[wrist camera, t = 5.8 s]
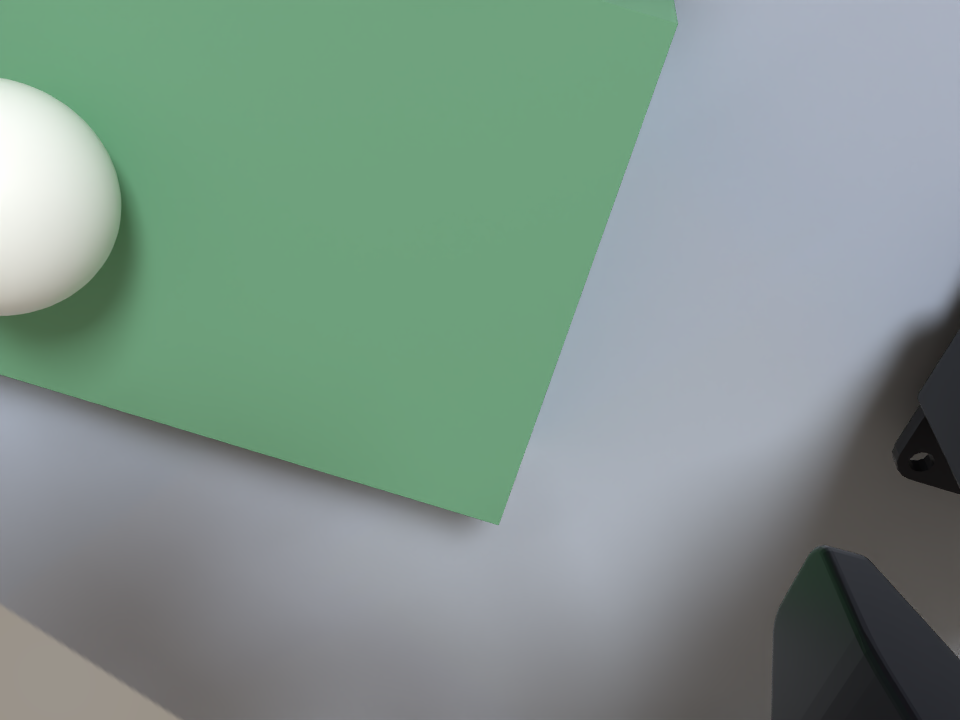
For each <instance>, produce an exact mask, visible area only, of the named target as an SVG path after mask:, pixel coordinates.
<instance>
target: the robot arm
mask: <svg viewBox="0 0 960 720" xmlns="http://www.w3.org/2000/svg"><path fill="white" fill-rule="evenodd" d="M918 400H919V403H920V406H919V407H918V409H917V410H916V412H915V414H914V415H913V417H912V418H911V420H910V421H909V423H908V425H907V426H906V428H905V429H904V431H903V432H902V434H901V436H900V437H899V439H898V440H897V442H896V443H895V445H894V448H893V451H892V453H893V459H894V461H895V464H896V467H897V469H898V471H899V472H900V473H901V474H902V476H904V477H906V478H908V479H911V480H914V481H917V482H920V483H924V484H927V485H930V486H934V487H937V488H940V489H944V490H947V491H950V492H954V493H957V494H960V329H959V331H958V333H957V334H956V336H955V337H954V339H953V340H952V342H951V344H950V345H949V347H948V348H947V350H946V352H945V353H944V355H943V356H942V358H941V359H940V361H939V363H938V364H937V366H936V367H935V369H934V370H933V372H932V374H931V375H930V377H929V378H928V380H927V381H926V383H925V385H924V386H923V388H922V389H921V391H920V393H919V395H918ZM920 452H923V453H928V455H927V456H926V457H925V458H924V459H920V460H910V458H911V457H912V456H913V455H914V454H917V453H920ZM771 720H960V659H959V658H958V657H957V656H956V655H955V654H954V653H953V652H952V651H951V650H950V648H949V647H948V646H947V645H946V644H945V643H944V642H943V641H942V640H941V639H940V637H939V636H938V635H937V634H936V633H935V632H934V631H933V630H932V629H931V627H930V626H929V625H928V624H927V623H926V622H925V621H924V620H923V619H922V618H921V616H920V615H919V614H918V613H917V612H916V611H915V610H914V609H913V608H912V606H911V605H910V604H909V603H908V602H907V601H906V600H905V599H904V598H903V597H902V595H901V594H900V593H899V592H898V591H897V590H896V589H895V588H894V587H893V585H892V584H891V583H890V582H889V581H888V580H887V579H886V578H885V577H884V576H883V574H882V573H881V572H880V571H879V570H878V569H877V568H876V567H875V566H874V565H873V563H872V562H871V561H870V560H868V559H867V558H866V557H864V556H862V555H860V554H856V553H852V552H849V551H845V550H841V549H838V548H834V547H830V546H827V545H823V546H819V547H816V548H815V549H814V550H813V551H812V552H811V553H810V554H809V556H808V557H807V559H806V561H805V562H804V564H803V566H802V568H801V569H800V571H799V573H798V575H797V577H796V578H795V580H794V582H793V584H792V585H791V587H790V589H789V591H788V592H787V594H786V596H785V598H784V600H783V601H782V603H781V605H780V607H779V609H778V612H777V615H776V619H775V623H774V629H773V665H772V716H771Z"/></svg>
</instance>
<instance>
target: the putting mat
mask: <svg viewBox="0 0 960 720" xmlns="http://www.w3.org/2000/svg"><path fill="white" fill-rule="evenodd" d="M677 25H678V21H677V16H676V10H675V4H674V0H0V78H3V79H9V80H13V81H16V82H20V83H23V84H26V85H29V86H31V87H34V88H36V89H39V90H41V91H43V92H45V93H47V94H49V95H51V96H52V97H54V98H55V99H57V100H59V101H60V102H62V103H63V104H65V105H67V106H68V107H69V108H70V109H72V110H73V111H74V112H75V113H76V114H77V115H79V116H80V117H81V118H82V119H83V120H84V121H85V122H86V123H87V124H88V125H89V127H90V128H91V129H92V130H93V131H94V132H95V134H96V135H97V136H98V138H99V139H100V141H101V142H102V144H103V145H104V147H105V149H106V150H107V152H108V154H109V156H110V158H111V161H112V163H113V165H114V168H115V171H116V173H117V177H118V182H119V187H120V192H121V220H120V226H119V231H118V235H117V238H116V241H115V244H114V246H113V248H112V251H111V253H110V255H109V256H108V258H107V260H106V261H105V263H104V264H103V266H102V267H101V268H100V270H99V271H98V272H97V273H96V275H95V276H94V277H93V278H92V279H91V280H90V281H89V282H88V283H87V284H86V285H85V286H84V287H82V288H81V289H80V290H78V291H77V292H76V293H74V294H73V295H71V296H70V297H68V298H66V299H65V300H63V301H61V302H59V303H56V304H54V305H52V306H50V307H47V308H44V309H41V310H38V311H34V312H30V313H25V314H19V315H10V316H0V375H3V376H7V377H10V378H13V379H16V380H20V381H23V382H26V383H30V384H33V385H36V386H40V387H43V388H46V389H50V390H53V391H56V392H59V393H63V394H66V395H69V396H73V397H76V398H79V399H83V400H86V401H89V402H93V403H96V404H99V405H102V406H106V407H109V408H112V409H116V410H119V411H122V412H126V413H129V414H132V415H136V416H139V417H142V418H145V419H149V420H152V421H155V422H159V423H162V424H165V425H169V426H172V427H175V428H179V429H182V430H185V431H189V432H192V433H195V434H198V435H202V436H205V437H208V438H212V439H215V440H218V441H222V442H225V443H228V444H232V445H235V446H238V447H241V448H245V449H248V450H251V451H255V452H258V453H261V454H265V455H268V456H271V457H275V458H278V459H281V460H284V461H288V462H291V463H294V464H298V465H301V466H304V467H308V468H311V469H314V470H318V471H321V472H324V473H327V474H331V475H334V476H337V477H341V478H344V479H347V480H351V481H354V482H357V483H361V484H364V485H367V486H370V487H374V488H377V489H380V490H384V491H387V492H390V493H394V494H397V495H400V496H404V497H407V498H410V499H414V500H417V501H420V502H423V503H427V504H430V505H433V506H437V507H440V508H443V509H447V510H450V511H453V512H457V513H460V514H463V515H466V516H470V517H473V518H476V519H480V520H483V521H486V522H490V523H493V524H496V525H499V523H500V520H501V517H502V514H503V512H504V509H505V506H506V503H507V500H508V498H509V495H510V492H511V489H512V486H513V484H514V481H515V478H516V475H517V472H518V470H519V467H520V464H521V461H522V459H523V456H524V453H525V450H526V447H527V445H528V442H529V439H530V436H531V433H532V431H533V428H534V425H535V422H536V419H537V417H538V414H539V411H540V408H541V405H542V403H543V400H544V397H545V394H546V391H547V389H548V386H549V383H550V380H551V377H552V375H553V372H554V369H555V366H556V363H557V361H558V358H559V355H560V352H561V349H562V347H563V344H564V341H565V338H566V335H567V333H568V330H569V327H570V324H571V321H572V319H573V316H574V313H575V310H576V307H577V305H578V302H579V299H580V296H581V294H582V291H583V288H584V285H585V282H586V280H587V277H588V274H589V271H590V268H591V266H592V263H593V260H594V257H595V254H596V252H597V249H598V246H599V243H600V240H601V238H602V235H603V232H604V229H605V226H606V224H607V221H608V218H609V215H610V212H611V210H612V207H613V204H614V201H615V198H616V196H617V193H618V190H619V187H620V184H621V182H622V179H623V176H624V173H625V170H626V168H627V165H628V162H629V159H630V156H631V154H632V151H633V148H634V145H635V143H636V140H637V137H638V134H639V131H640V129H641V126H642V123H643V120H644V117H645V115H646V112H647V109H648V106H649V103H650V101H651V98H652V95H653V92H654V89H655V87H656V84H657V81H658V78H659V75H660V73H661V70H662V67H663V64H664V61H665V59H666V56H667V53H668V50H669V47H670V45H671V42H672V39H673V36H674V33H675V31H676V28H677Z"/></svg>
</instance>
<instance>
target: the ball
mask: <svg viewBox="0 0 960 720" xmlns="http://www.w3.org/2000/svg"><path fill="white" fill-rule="evenodd" d="M120 220H121V192H120V187H119V182H118V177H117V173H116V171H115V168H114V165H113V163H112V161H111V158H110V156H109V154H108V152H107V150H106V149H105V147H104V145H103V144H102V142H101V141H100V139H99V138H98V136H97V135H96V134H95V132H94V131H93V130H92V129H91V128H90V127H89V125H88V124H87V123H86V122H85V121H84V120H83V119H82V118H81V117H80V116H79V115H77V114H76V113H75V112H74V111H73V110H72V109H70V108H69V107H68V106H67V105H65V104H63V103H62V102H60V101H59V100H57V99H55V98H54V97H52V96H51V95H49V94H47V93H45V92H43V91H41V90H39V89H36V88H34V87H31V86H29V85H26V84H23V83H20V82H16V81H13V80H9V79H3V78H0V316H10V315H19V314H25V313H30V312H34V311H38V310H41V309H44V308H47V307H50V306H52V305H54V304H56V303H59V302H61V301H63V300H65V299H66V298H68V297H70V296H71V295H73V294H74V293H76V292H77V291H78V290H80V289H81V288H82V287H84V286H85V285H86V284H87V283H88V282H89V281H90V280H91V279H92V278H93V277H94V276H95V275H96V273H97V272H98V271H99V270H100V268H101V267H102V266H103V264H104V263H105V261H106V260H107V258H108V256H109V255H110V253H111V251H112V248H113V246H114V244H115V241H116V238H117V235H118V231H119V226H120Z"/></svg>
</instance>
